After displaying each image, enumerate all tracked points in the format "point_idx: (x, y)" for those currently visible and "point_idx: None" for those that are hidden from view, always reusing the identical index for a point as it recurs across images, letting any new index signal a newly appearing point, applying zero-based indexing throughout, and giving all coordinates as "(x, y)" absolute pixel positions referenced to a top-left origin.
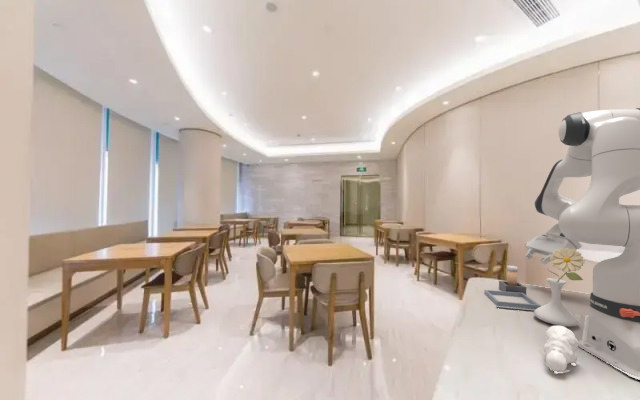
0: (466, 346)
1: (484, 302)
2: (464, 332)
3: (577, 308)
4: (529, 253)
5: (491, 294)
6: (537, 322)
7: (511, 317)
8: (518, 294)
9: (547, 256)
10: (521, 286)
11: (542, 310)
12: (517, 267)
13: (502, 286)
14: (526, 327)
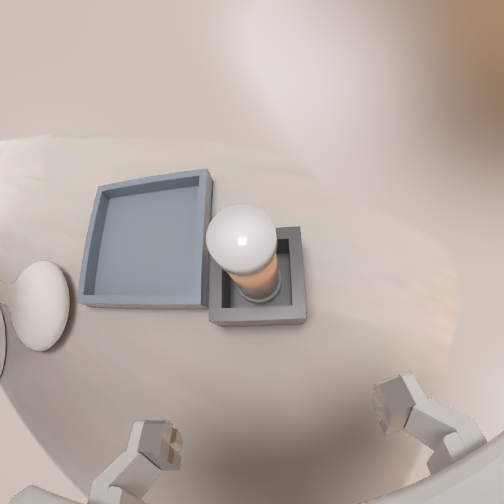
0: (17, 148)
1: (148, 173)
2: (38, 143)
3: None
4: (419, 418)
5: (156, 181)
6: None
7: (65, 216)
8: (194, 284)
9: (117, 471)
10: (219, 303)
11: (28, 268)
12: (216, 260)
13: None
14: (32, 231)
